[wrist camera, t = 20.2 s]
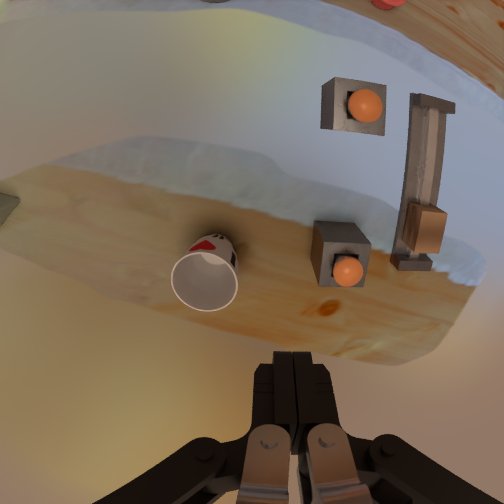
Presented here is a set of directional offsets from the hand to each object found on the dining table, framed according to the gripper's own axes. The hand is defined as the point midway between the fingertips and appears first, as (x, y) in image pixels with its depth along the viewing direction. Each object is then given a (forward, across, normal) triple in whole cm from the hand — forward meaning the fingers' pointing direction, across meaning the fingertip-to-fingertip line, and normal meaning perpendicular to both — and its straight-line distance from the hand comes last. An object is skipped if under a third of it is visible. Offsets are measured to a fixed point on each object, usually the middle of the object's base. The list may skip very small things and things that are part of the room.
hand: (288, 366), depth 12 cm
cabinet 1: (+32, -9, -12) cm, 35 cm away
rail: (+32, -22, -3) cm, 39 cm away
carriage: (+31, -22, +3) cm, 38 cm away
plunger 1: (+26, -9, +7) cm, 29 cm away
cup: (+32, +8, +9) cm, 34 cm away
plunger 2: (+26, -9, -12) cm, 30 cm away
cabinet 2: (+32, -9, +7) cm, 34 cm away
